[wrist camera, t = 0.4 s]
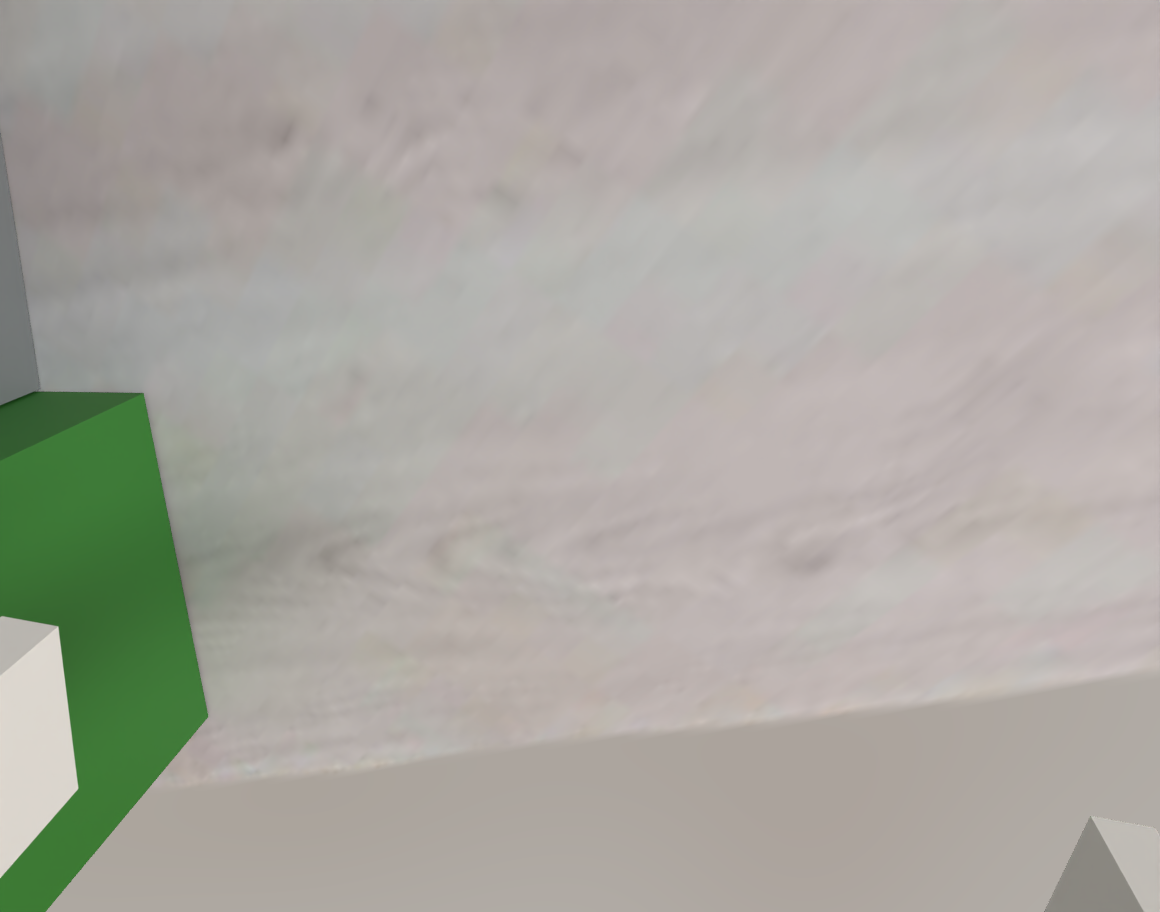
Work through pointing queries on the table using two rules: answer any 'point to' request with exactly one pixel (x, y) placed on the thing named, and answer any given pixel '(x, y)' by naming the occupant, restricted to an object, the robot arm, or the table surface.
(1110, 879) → the robot arm
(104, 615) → the hardback book
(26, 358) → the bin
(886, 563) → the table surface
